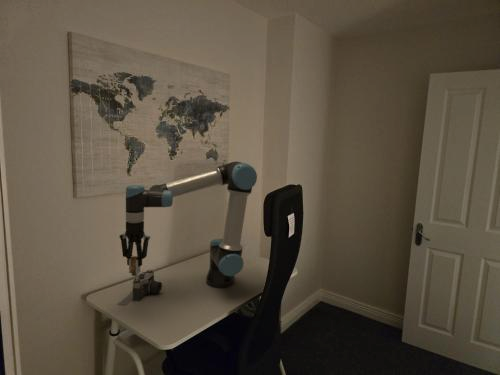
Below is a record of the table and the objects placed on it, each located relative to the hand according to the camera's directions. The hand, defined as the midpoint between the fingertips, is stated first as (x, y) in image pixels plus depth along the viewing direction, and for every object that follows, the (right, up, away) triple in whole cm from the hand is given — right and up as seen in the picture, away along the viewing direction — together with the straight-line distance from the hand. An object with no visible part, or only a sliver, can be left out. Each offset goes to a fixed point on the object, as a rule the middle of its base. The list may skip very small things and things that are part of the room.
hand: (134, 272), depth 146 cm
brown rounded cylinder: (0, -1, 0) cm, 1 cm away
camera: (+2, -14, +13) cm, 19 cm away
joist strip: (-5, -14, +10) cm, 18 cm away
